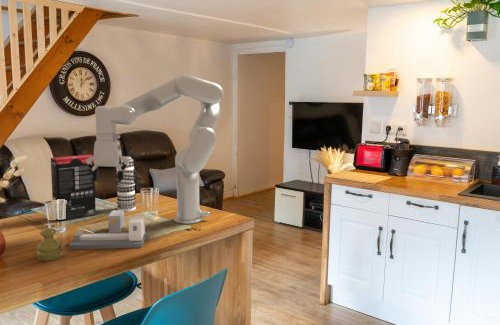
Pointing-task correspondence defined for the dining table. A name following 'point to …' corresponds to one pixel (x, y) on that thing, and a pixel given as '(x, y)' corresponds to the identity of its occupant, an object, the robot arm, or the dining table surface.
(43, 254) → the olive green chess pawn
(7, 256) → the dining table surface
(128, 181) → the striped tall cylinder
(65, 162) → the graphics card box
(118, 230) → the grey module
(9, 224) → the dining table surface
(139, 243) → the rail board
